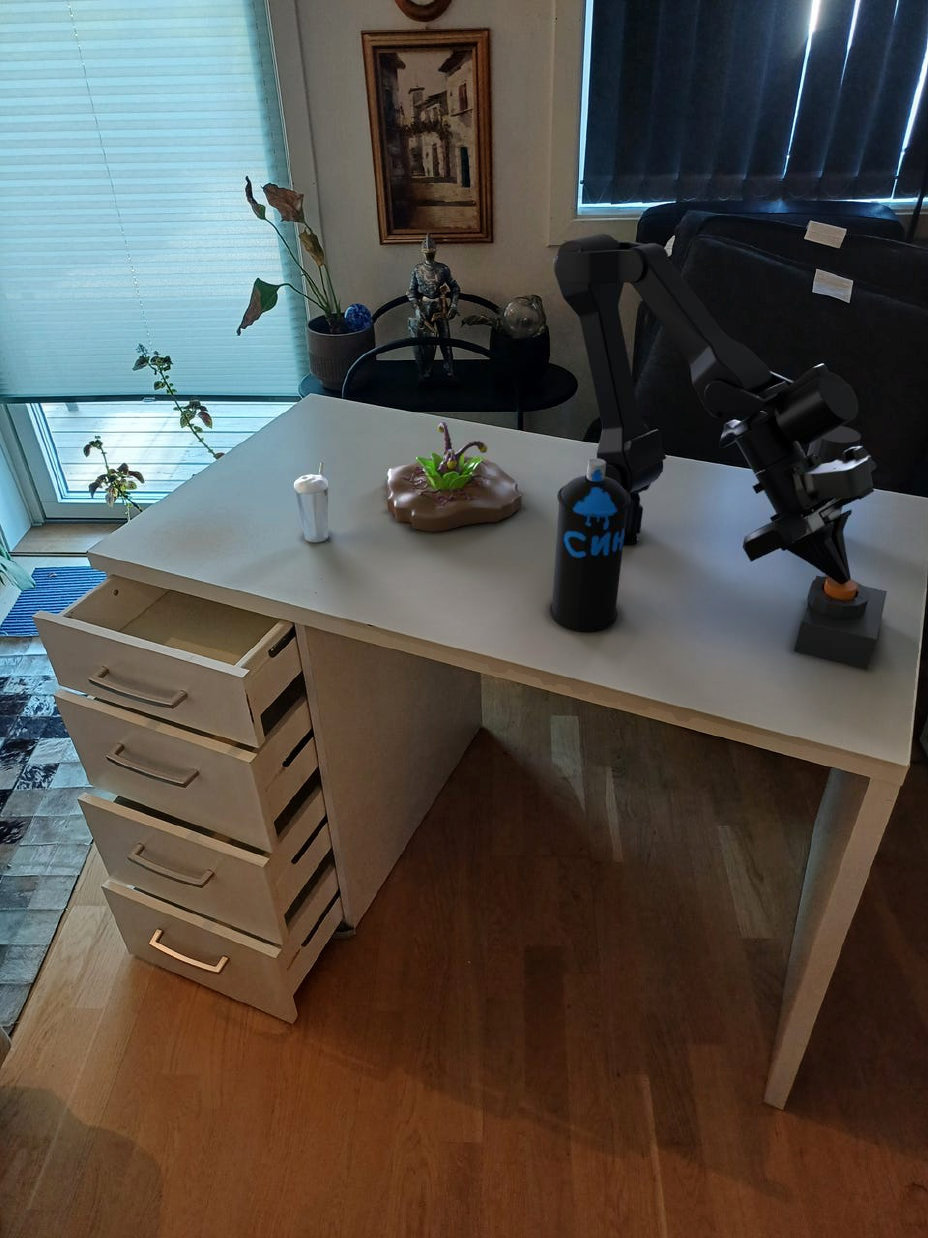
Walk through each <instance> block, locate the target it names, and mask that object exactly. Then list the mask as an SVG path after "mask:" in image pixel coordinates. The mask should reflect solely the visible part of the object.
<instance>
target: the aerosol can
mask: <svg viewBox="0 0 928 1238" xmlns="http://www.w3.org/2000/svg"><path fill="white" fill-rule="evenodd" d="M605 468H606V462H605V461H604V460H602V459H598V458H597V457H595V458H594V457H593V458H591V459H589V460H587V469H586V474H585V475H581V476H578V477H575V478H572V479H571V480H570V481H569V482H568V483H566V484H565V485H564V486H562V487H560V488H559V490H558V491H557V494H556V499H557V501H558V509H557V525H556V541H555V554H554V569H553V572H554V573H553V584H552V585H553V586H552V597H551V604H550V606H549V615H550V617H551V619H552V620H553V621H554V622H555V623H556V624H558V625H559V626H561V627H563V628H565V629H567V630H571V631H574V632H580V633H591V632H592V633H593V632H598V631H602V630H605V629H607V628H609V627H611V626H612V625H613V624H614V623H615V622H616V620H617V618H618V609H617V602H618V593H619V585H620V576H621V568H622V561H623V558H622V557H623V551H624V544H623V542H624V534H625V525H626V516H627V508H628V506H629V505H630V503H631V498H630V495H629V494H628V492H627V491H626V490H624V488H623V487H622V486H621V485H620V484H619V483H618V482H616V481H615V480H613V479H610V478H608V477H605Z"/></svg>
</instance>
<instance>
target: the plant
mask: <svg viewBox="0 0 928 1238" xmlns="http://www.w3.org/2000/svg"><path fill="white" fill-rule="evenodd" d="M437 431H438V432H439V433H441V434H444V451H443V452H442V455H439V454H437V453H435V452H431V453H430V458H425V457H418V456H416V457H415V460H416V461H415V462H412V463H407V464H402V465H399V466H394V467H390V468H389V469H388V472H387V475H386V485H387V494H388V495H387V497H388V498H387V501H386V503H387V511H388V512H389V513H391V514H394V518H395V520H396V521H397V522H402V523H409V524H410V523H411V526H412V528H413V529H414V530H418V531H421V532H423V531H424V532H433V533H434V532H435V533H439V532H443V531H449V530H452V529H456V528H459V527H464V526H469V525H476V524H485V523H497V522H500V521H501V520H503V519H507V518H509V517H511V516H512V515H513V514H514V513H515V512H518V511H520V510H521V509H522V494H520V493H519V492H518V482H517V480H516V479H515V478H513V477H512V476H511V475H509V474H508V473H507V472H506V470H505V471H504V469H503V468H501V466H499V465H498V464H497V463H495V462H493V461H491V460H490V459H486V458H484V457H483V456H477V457H472V456H466V455H465V453H466V451H467V450H468V449H469V448H472V447H475V446H476V447H477V449H478V451H479V452H480V453H481V454H486V453H488V452H487V451H488V446H487V444H486V443H485V442H482V441H480V440H478V441H476V440H475V441H471V442H468V443H466V444H464V445H463V446H462V447H461V448H460V449H459V451H457V452H456V451H455V450H454V449H453V447H452V439H451V435H450V433H449V428H448V424H447V422H445V421H442V422H440V423H439V424H438V426H437Z"/></svg>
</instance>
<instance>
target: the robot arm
mask: <svg viewBox="0 0 928 1238" xmlns="http://www.w3.org/2000/svg"><path fill="white" fill-rule="evenodd" d="M552 264H553V272H554V275H555V278H556V281H557V284H558V287H559V290H560V293H561V296H562V298H563V299H564V301H565V302H566V304H567V305H569V307H570V308H571V309H572V310H573V312H574V313H575V314H576V315H577V317H578V320H579V323H580V327H581V332H582V337H583V341H584V345H585V351H586V356H587V361H588V365H589V370H590V375H591V379H592V384H593V389H594V392H595V398H596V404H597V407H598V408H597V409H598V413H599V417H600V422H601V428H602V429H601V434H600V437H599V441H598V446H597V449H596V458H598V459H602V460H604V461H605V462H606V468H605V477H608V478H610V479H613V480H615V481H616V482H618V483H619V484H620V485H621V486H622V487H623V488H624V490H626V491H627V492H628V494H629V495H630V498H631V503H630V505H629V506H628V508H627V516H626V525H625V534H624V542H623V545H637V544H639V537H638V535H640V534H641V529H642V521H643V512H644V506H643V504H642V500H641V497H640V493H641V492H642V493H643V492H644V491H645V492H646V491H647V490H649V489H650V487H651V485H652V484H653V483H655V481H657V480H659V478H660V476H661V474H662V473H663V471H664V460H666V459H667V456H666V454H665V452H664V450H663V445H662V434H661V432H660V430H659V429H653V430H650V429H649V427H648V426H647V425H646V424H645V423H644V422H643V420H642V418H641V415H640V410H639V406H638V401H637V395H636V390H635V386H634V381H633V375H632V371H631V366H630V365H631V364H630V360H629V355H628V349H627V345H626V341H625V340H626V339H625V335H624V332H623V331H624V329H623V325H622V320H621V319H622V318H621V315H620V311H619V308H620V307H619V304H620V299H621V297H622V292H623V288H624V285H625V283H626V284H630V285H632V287H633V288H634V290H635V291H636V293H638V296H640V298H641V299H642V300H643V302H644V303H645V304H646V306H647V307H648V309H649V310H650V312H651V313H652V314H653V315H654V317H655V318H656V320H657V321H658V323H659V324H660V325H661V326H662V327H663V329H664V331H665V332H666V333H667V334H668V336H669V337H670V339H671V340H672V341H673V343H674V344H675V345H676V346H677V348H678V350H679V351H680V352H681V353H682V355H683V356H684V357H685V360H686V362H687V363H688V365H689V367H690V368H689V369H690V375H691V383H692V386H693V388H694V390H695V392H696V394H697V396H698V398H699V399H700V402H701V403H702V405H703V407H704V409H705V410H706V411H707V413H709V415H710V416H712V417H714V418H716V419H718V418H719V419H723V420H724V419H725V420H729V419H733V418H735V417H738V416H740V415H747V417H745V418H744V419H742V420H741V421H740V420H737V419H733V420H729V421H728V422H726V423H724V424H723V429H722V430H723V431H722V433H721V436H720V439H719V441H718V446H719V448H720V449H723V448H726V447H728V446H730V445H732V444H734V443H736V444H737V446H738V447H739V449H740V451H741V452H742V455H743V456H744V458H745V460H746V462H747V464H748V465H749V467H750V469H751V471H752V472H753V474H754V476H755V478H756V479H757V481H758V483H755V484H754V485H752V489H753V491H754V492H755V494H756V495H757V494H759V493H761V492H764V494H765V496H766V497H767V499H768V501H769V502H770V504H771V506H772V508H773V510H774V511H775V514H773V515H771V516H770V517H769V519H770V521H771V522H769V523H766V524H765V525H763V526H761V527H759V528H757V529H755V530H754V531H752V532H750V533H749V534H747V535H746V536H744V539H743V542H742V549H743V551H744V552H745V554H746V556H747V558H748V560H749V561H750V562H751V563H752V562H753V561H754V562H755V561H756V560H758V559H760V558H762V557H764V556H766V555H768V554H771V553H773V552H775V551H777V550H781V551H782V552H784V551H787V552H790V553H792V554H793V555H794V556H796V557H798V558H800V559H801V560H803V561H805V562H806V563H807V564H810V565H811V566H813V567H814V568H816V569H817V570H818V571H820V572H821V573H823V574H824V575H825V576H829V577H830V578H832V579H833V580H834V581H836V582H837V583H839V584H844V583H846V582H848V581H849V580H850V579H852V578H851V572H850V566H849V565H850V564H849V560H848V556H847V555H848V554H847V549H846V544H845V543H846V542H845V535H844V529H845V527H846V524H847V522H848V519H849V517H850V516H851V515H852V512H853V510H852V509H849V510H847V511H845V512H842V511H841V512H840V511H839V509H838V508H840V507H842V506H843V507H845V506H847V505H848V504H851V503H853V502H855V501H857V500H862V499H865V497H867V496H869V495H871V494H872V493H874V492H875V489H874V483H873V478H872V472H873V471H874V470H876V469H877V466H878V465H877V462H875V461H873V458H872V456H871V455H870V454H869V453H868V451H867V450H866V449H865V447H864V446H863V445H861V446H860V445H859V446H858V447H851V448H849V449H847V450H846V451H844V452H843V454H842V457H841V461H840V460H835V461H834V462H831V463H825V464H823V463H822V462H821V460H820V459H819V457H818V456H817V455H815V454H814V453H812V454H810V455H809V456H807V455H806V453H805V451H804V449H803V448H802V446H801V445H800V444H802V445H810V443H812V442H814V441H816V440H817V439H819V438H821V437H823V436H824V435H826V434H828V433H830V432H831V431H833V430H835V429H837V428H838V427H840V426H844V425H846V424H848V423H849V422H850V421H852V420H854V419H855V418H856V417H857V415H858V413H859V402H858V398H857V395H856V393H855V391H854V389H853V387H852V386H851V383H850V384H849V383H847V382H846V381H845V380H844V379H843V378H842V377H841V376H840V375H838V374H836V373H834V372H831V371H829V369H828V367H827V366H826V363H820V364H818V365H816V366H813V367H812V368H810V369H809V370H806V372H805V373H803V374H802V376H801V377H799V378H798V379H797V380H794V381H793V380H791V379H788V378H786V377H784V376H782V375H780V374H777V373H775V372H773V371H771V370H770V369H769V366H767V364H765V362H764V361H762V360H761V359H760V358H759V357H758V355H756V354H755V353H754V352H753V351H752V350H751V349H750V348H749V347H748V346H746V345H744V344H743V343H740V342H738V341H736V340H734V338H733V339H732V338H731V337H730V336H729V335H727V334H726V333H725V332H724V331H723V330H722V328H721V327H720V326H719V325H718V323H717V322H716V321H715V319H714V318H713V317H712V316H711V314H710V312H709V311H708V310H707V308H706V307H705V306H704V305H703V303H702V302H701V300H700V299H699V298H698V297H697V295H696V294H695V292H693V291H694V290H692V288H691V287H690V286H689V285H688V283H687V282H686V280H685V279H684V278H683V277H682V275H681V273H679V271H678V270H677V268H676V267H675V266H674V264H673V263H672V262H671V260H670V259H669V254H668V252H667V249H666V248H665V247H663V245H660V244H658V243H655V242H651V243H641V242H636V241H619V240H618V239H615V238H614V237H612V235H610V234H607V233H598V234H593V235H588V236H583V237H580V238H575V239H571V240H567V241H565V242H563V243H562V244H560V246H559V248H558V249H557V252H556V254H555V256H554V257H553V263H552ZM770 407H771V409H772V412H770V413H768V412H765V411H763V410H765V409H767V408H770ZM843 507H842V508H843ZM836 509H837V510H836ZM800 515H802V516H800Z"/></svg>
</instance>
